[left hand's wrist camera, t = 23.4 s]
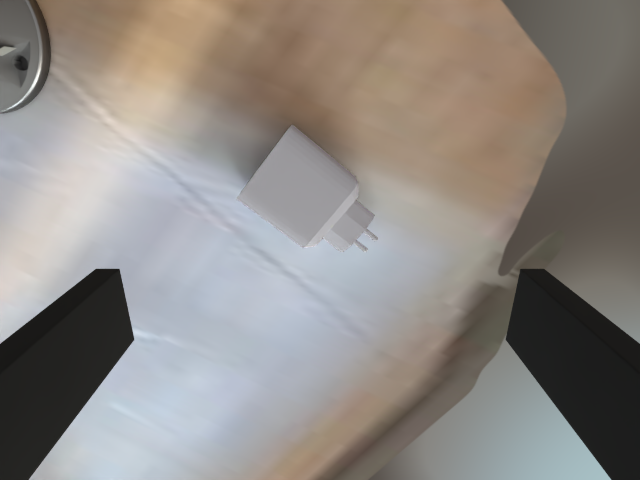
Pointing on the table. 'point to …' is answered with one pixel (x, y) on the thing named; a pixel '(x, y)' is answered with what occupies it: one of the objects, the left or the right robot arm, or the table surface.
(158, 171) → the table surface
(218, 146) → the table surface
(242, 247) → the table surface
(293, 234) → the charger
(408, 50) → the table surface
